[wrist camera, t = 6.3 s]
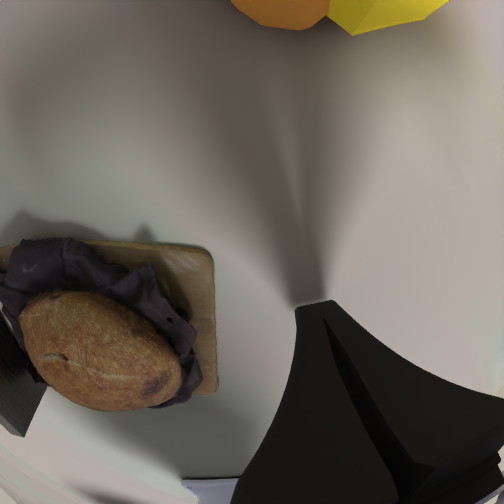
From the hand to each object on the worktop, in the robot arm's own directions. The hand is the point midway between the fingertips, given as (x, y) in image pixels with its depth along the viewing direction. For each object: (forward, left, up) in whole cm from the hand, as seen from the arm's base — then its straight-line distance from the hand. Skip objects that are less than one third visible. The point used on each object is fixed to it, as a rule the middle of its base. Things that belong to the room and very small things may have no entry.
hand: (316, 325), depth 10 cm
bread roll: (+1, +9, -2) cm, 9 cm away
